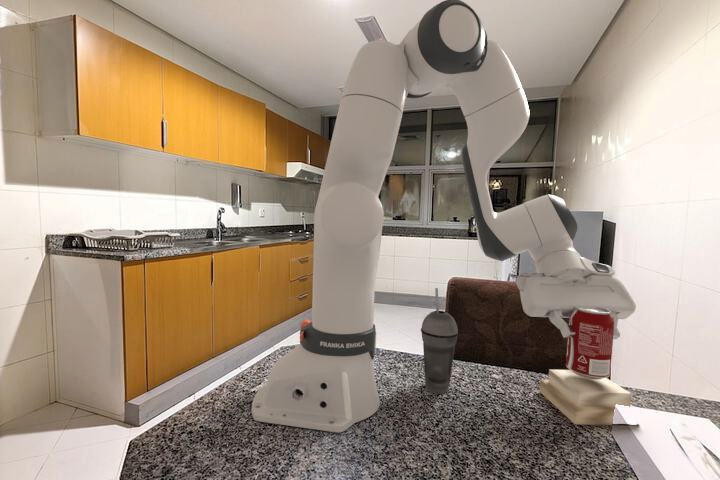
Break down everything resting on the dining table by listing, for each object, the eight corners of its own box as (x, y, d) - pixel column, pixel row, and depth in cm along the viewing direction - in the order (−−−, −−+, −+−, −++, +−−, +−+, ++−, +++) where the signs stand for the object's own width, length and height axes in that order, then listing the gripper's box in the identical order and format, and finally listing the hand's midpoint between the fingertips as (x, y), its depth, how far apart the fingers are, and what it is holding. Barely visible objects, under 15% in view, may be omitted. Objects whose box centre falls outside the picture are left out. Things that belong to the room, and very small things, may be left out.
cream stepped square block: (574, 424, 58) (576, 395, 57) (539, 391, 69) (541, 367, 68) (639, 425, 58) (641, 396, 58) (594, 392, 69) (595, 368, 69)
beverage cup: (438, 401, 64) (443, 294, 63) (410, 385, 70) (414, 287, 69) (463, 390, 68) (468, 290, 67) (435, 376, 74) (439, 284, 73)
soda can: (617, 384, 59) (623, 315, 58) (574, 379, 60) (578, 311, 60) (599, 368, 66) (603, 305, 65) (560, 363, 67) (564, 302, 66)
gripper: (518, 263, 69) (542, 327, 59) (620, 266, 69) (659, 330, 60) (507, 281, 73) (527, 343, 64) (602, 284, 74) (636, 346, 64)
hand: (592, 337), depth 62 cm, fingers closed on soda can, 7 cm apart
